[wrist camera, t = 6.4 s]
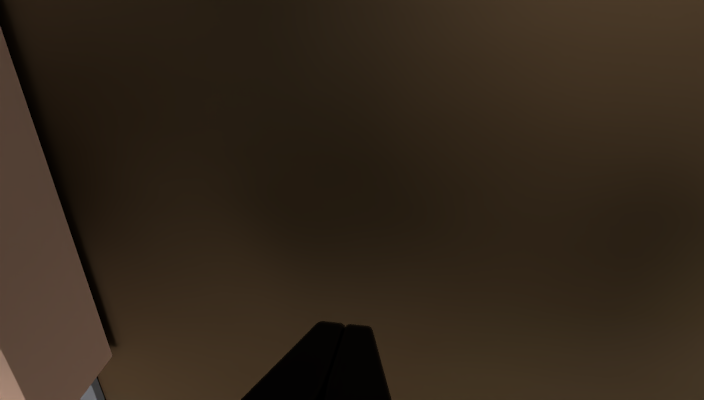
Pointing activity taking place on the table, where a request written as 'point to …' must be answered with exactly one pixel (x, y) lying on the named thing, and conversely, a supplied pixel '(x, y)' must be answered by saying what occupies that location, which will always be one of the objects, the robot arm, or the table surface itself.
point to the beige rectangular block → (39, 270)
